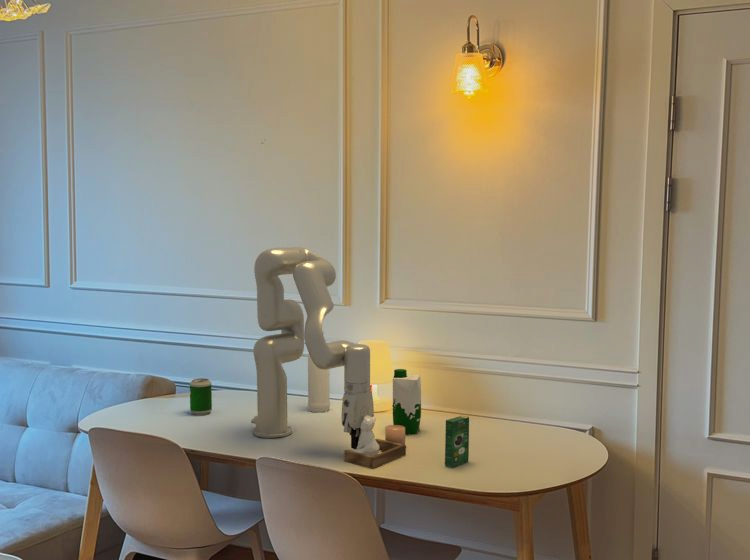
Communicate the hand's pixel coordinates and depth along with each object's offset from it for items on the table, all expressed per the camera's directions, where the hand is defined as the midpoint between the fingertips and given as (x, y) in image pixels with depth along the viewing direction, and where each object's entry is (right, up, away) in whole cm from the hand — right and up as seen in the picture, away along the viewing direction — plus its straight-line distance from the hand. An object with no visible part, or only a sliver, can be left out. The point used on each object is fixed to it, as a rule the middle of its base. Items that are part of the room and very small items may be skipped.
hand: (356, 448), depth 218 cm
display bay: (+5, -2, -4) cm, 7 cm away
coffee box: (+28, -2, -9) cm, 30 cm away
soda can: (-56, +2, +46) cm, 73 cm away
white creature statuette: (+3, -2, -2) cm, 4 cm away
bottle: (-15, +2, +51) cm, 53 cm away
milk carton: (+16, 0, +23) cm, 28 cm away
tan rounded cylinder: (+11, -1, +6) cm, 13 cm away
